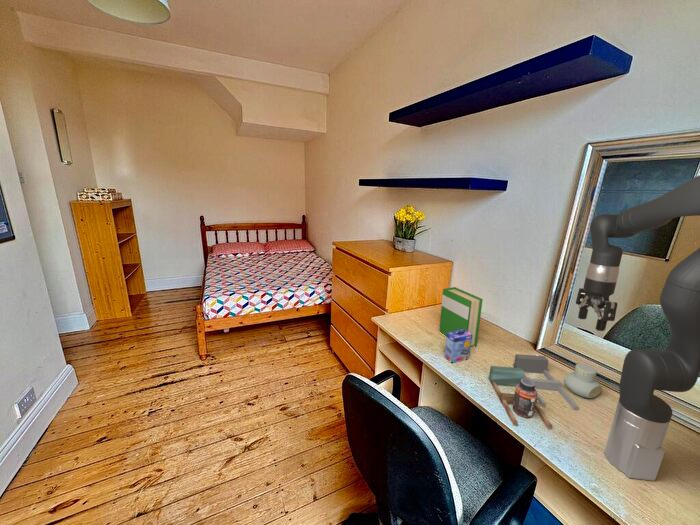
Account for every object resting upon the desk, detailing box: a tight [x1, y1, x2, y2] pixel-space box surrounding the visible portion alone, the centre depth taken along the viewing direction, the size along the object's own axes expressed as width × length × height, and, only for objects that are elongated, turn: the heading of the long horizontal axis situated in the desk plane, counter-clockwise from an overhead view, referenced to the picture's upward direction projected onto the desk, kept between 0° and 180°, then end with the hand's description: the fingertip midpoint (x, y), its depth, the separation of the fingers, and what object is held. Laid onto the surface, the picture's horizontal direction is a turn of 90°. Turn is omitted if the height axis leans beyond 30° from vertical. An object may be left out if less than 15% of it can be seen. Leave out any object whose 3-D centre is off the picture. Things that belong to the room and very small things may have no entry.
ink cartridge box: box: [443, 329, 472, 363], centre depth 121 cm, size 10×6×14 cm, turn 111°
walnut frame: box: [488, 365, 553, 430], centre depth 97 cm, size 23×11×6 cm, turn 172°
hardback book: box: [439, 286, 484, 348], centre depth 136 cm, size 18×7×24 cm, turn 22°
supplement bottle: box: [512, 378, 538, 419], centre depth 92 cm, size 6×6×11 cm
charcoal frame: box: [512, 353, 579, 411], centre depth 105 cm, size 23×11×6 cm, turn 172°
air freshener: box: [563, 363, 603, 399], centre depth 102 cm, size 11×8×10 cm
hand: (590, 324), depth 94 cm, fingers open, 8 cm apart
